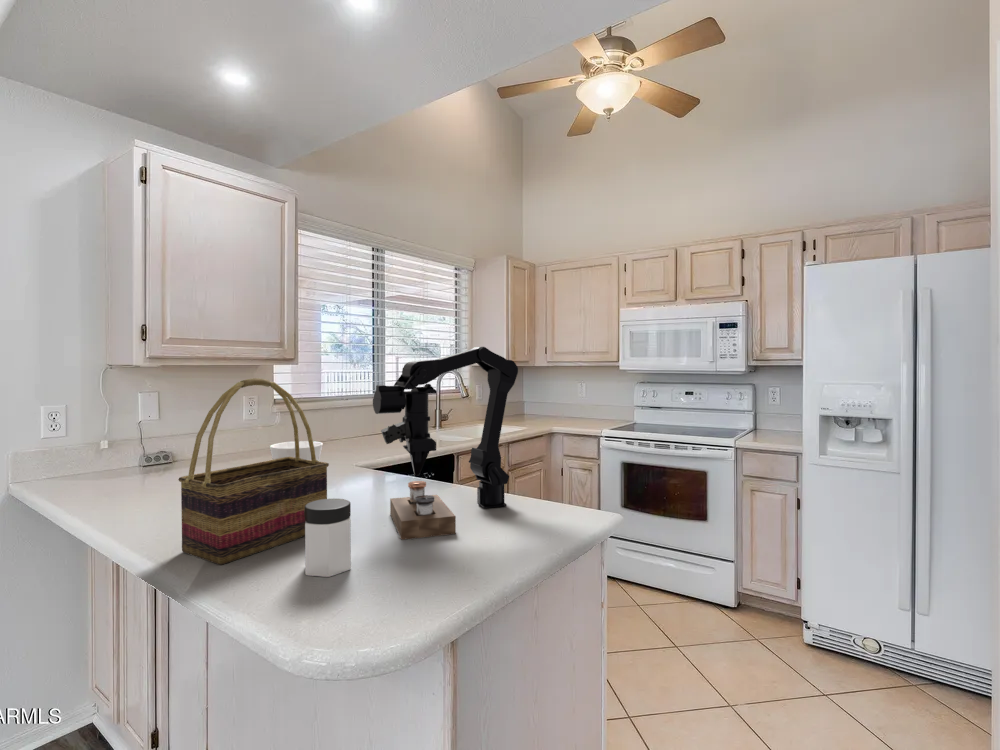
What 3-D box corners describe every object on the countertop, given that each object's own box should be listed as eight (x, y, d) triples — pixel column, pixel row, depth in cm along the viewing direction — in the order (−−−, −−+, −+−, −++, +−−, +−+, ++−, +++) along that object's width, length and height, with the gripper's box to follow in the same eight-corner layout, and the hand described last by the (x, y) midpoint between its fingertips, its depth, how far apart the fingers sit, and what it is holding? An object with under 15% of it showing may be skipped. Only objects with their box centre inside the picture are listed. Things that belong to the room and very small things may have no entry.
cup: (258, 505, 137) (258, 446, 137) (296, 493, 150) (296, 439, 149) (297, 510, 132) (297, 449, 132) (333, 497, 145) (333, 442, 144)
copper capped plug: (424, 507, 128) (424, 480, 128) (427, 511, 124) (427, 484, 124) (407, 508, 127) (407, 481, 127) (409, 513, 123) (409, 485, 123)
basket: (218, 568, 94) (216, 380, 94) (176, 553, 102) (174, 379, 101) (331, 528, 117) (330, 377, 117) (290, 519, 125) (289, 376, 124)
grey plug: (432, 523, 119) (432, 494, 119) (436, 529, 115) (436, 499, 115) (413, 525, 117) (413, 496, 117) (416, 531, 113) (416, 500, 113)
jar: (337, 555, 100) (336, 495, 100) (361, 566, 95) (361, 502, 95) (294, 569, 93) (293, 505, 93) (317, 582, 88) (317, 513, 88)
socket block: (437, 509, 132) (437, 494, 132) (455, 533, 113) (455, 516, 113) (390, 514, 128) (390, 498, 128) (401, 539, 109) (401, 521, 109)
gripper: (379, 409, 131) (379, 469, 132) (387, 416, 114) (387, 485, 114) (422, 408, 135) (422, 467, 135) (436, 415, 117) (436, 482, 118)
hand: (416, 475), depth 125 cm, fingers closed
